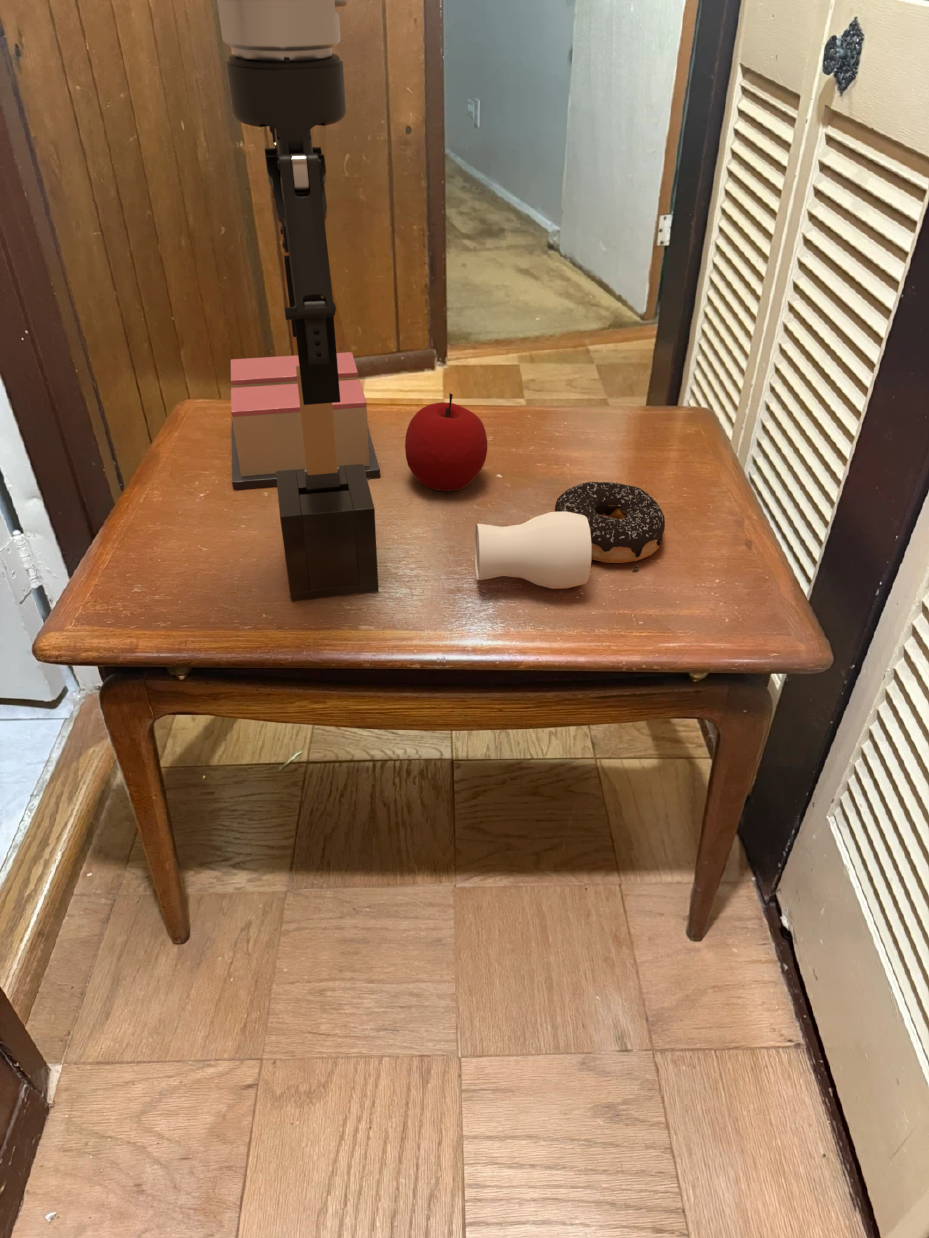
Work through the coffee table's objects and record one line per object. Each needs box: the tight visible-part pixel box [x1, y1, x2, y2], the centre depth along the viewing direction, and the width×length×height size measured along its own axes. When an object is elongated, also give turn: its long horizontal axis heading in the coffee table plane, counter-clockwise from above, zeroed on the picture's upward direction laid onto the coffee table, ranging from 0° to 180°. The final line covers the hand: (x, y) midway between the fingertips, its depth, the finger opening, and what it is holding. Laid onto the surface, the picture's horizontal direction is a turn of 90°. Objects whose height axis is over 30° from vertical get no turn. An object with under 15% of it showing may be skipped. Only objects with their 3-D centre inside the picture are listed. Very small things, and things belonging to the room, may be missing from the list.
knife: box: [296, 366, 341, 494], centre depth 76 cm, size 3×2×19 cm, turn 102°
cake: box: [230, 351, 381, 491], centre depth 98 cm, size 16×16×9 cm
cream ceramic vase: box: [474, 511, 592, 590], centre depth 79 cm, size 7×7×10 cm
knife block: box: [276, 464, 380, 602], centre depth 79 cm, size 8×8×9 cm
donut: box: [553, 481, 666, 564], centre depth 87 cm, size 11×12×4 cm
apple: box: [404, 392, 488, 492], centre depth 93 cm, size 9×9×10 cm
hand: (314, 366), depth 70 cm, fingers open, 13 cm apart
